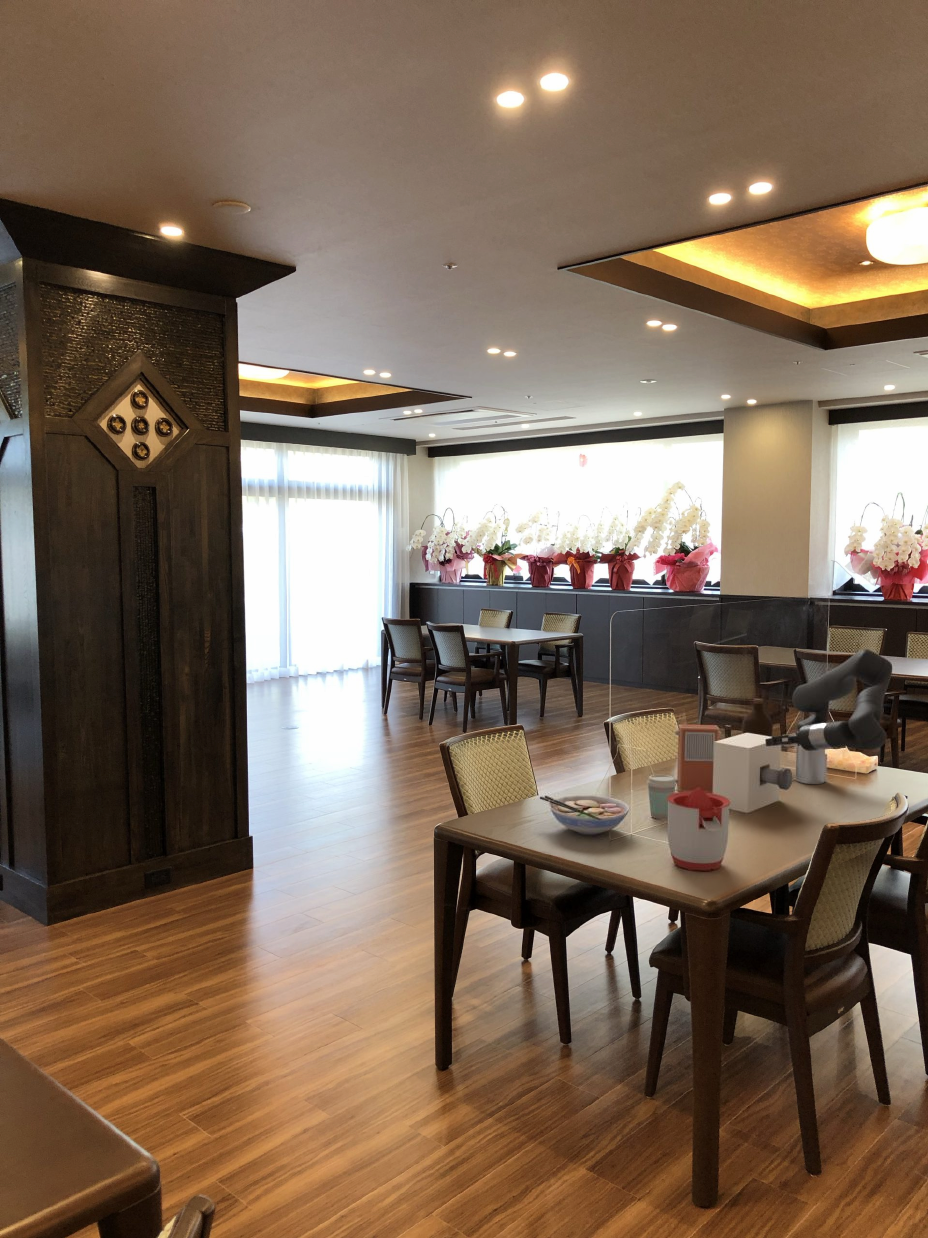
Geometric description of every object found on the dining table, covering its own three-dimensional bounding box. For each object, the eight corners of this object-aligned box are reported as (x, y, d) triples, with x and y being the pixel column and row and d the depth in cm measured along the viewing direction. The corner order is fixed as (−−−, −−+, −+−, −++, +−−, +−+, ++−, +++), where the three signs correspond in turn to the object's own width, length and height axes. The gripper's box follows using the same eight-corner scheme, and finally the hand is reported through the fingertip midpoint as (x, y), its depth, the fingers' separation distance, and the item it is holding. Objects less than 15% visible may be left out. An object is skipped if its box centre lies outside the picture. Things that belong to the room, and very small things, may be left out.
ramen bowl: (649, 836, 263) (649, 807, 262) (585, 850, 251) (585, 820, 250) (591, 814, 284) (591, 787, 283) (530, 826, 272) (530, 798, 271)
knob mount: (744, 792, 308) (746, 732, 306) (779, 800, 299) (781, 738, 297) (712, 804, 294) (714, 741, 292) (747, 813, 285) (749, 748, 284)
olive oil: (763, 772, 335) (766, 702, 333) (735, 767, 342) (737, 699, 340) (776, 766, 343) (778, 699, 341) (748, 762, 350) (751, 695, 348)
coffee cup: (678, 815, 283) (679, 776, 282) (670, 823, 275) (671, 782, 274) (651, 811, 287) (651, 772, 286) (642, 818, 279) (643, 779, 278)
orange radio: (672, 786, 315) (718, 788, 314) (675, 792, 308) (722, 793, 307) (674, 723, 313) (720, 724, 312) (676, 728, 306) (723, 729, 305)
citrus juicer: (682, 879, 230) (684, 799, 228) (656, 855, 247) (658, 780, 245) (742, 875, 233) (744, 796, 231) (712, 852, 250) (714, 778, 248)
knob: (764, 782, 295) (765, 762, 294) (792, 787, 289) (792, 767, 288) (754, 786, 291) (755, 765, 290) (782, 791, 284) (782, 771, 284)
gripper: (834, 723, 274) (791, 729, 288) (799, 724, 267) (757, 730, 281) (838, 749, 272) (795, 754, 286) (803, 750, 266) (761, 755, 279)
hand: (776, 742), depth 284 cm, fingers open, 8 cm apart
